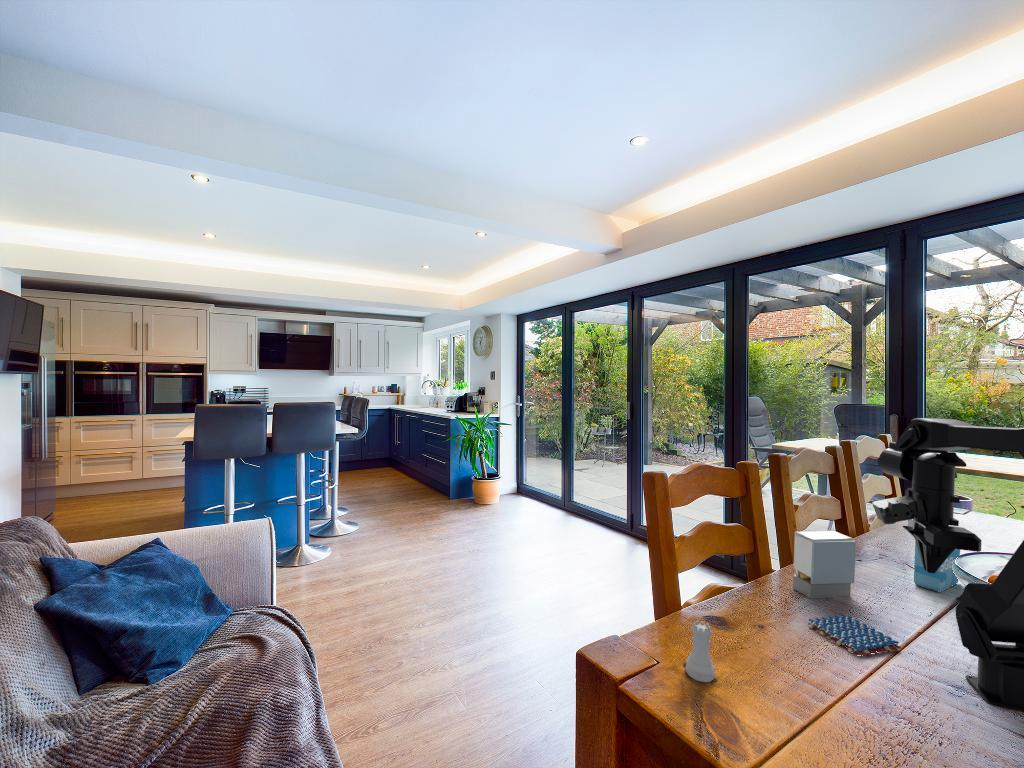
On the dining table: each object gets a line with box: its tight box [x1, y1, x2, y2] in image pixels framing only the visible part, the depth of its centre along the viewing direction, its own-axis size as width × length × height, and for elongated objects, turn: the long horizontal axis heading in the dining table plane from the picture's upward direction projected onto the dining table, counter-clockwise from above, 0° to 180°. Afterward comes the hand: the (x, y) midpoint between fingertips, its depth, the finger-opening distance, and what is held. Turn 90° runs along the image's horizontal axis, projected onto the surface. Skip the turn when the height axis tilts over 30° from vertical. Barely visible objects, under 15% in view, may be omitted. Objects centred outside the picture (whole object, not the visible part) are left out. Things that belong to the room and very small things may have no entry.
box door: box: [811, 539, 857, 584], centre depth 100 cm, size 1×10×9 cm, turn 97°
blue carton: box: [913, 540, 961, 593], centre depth 109 cm, size 12×4×12 cm, turn 119°
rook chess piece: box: [685, 620, 716, 683], centre depth 73 cm, size 4×4×8 cm
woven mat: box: [807, 613, 902, 657], centre depth 85 cm, size 10×11×2 cm
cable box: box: [792, 530, 854, 600], centre depth 103 cm, size 5×10×13 cm, turn 99°
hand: (929, 571), depth 84 cm, fingers closed
